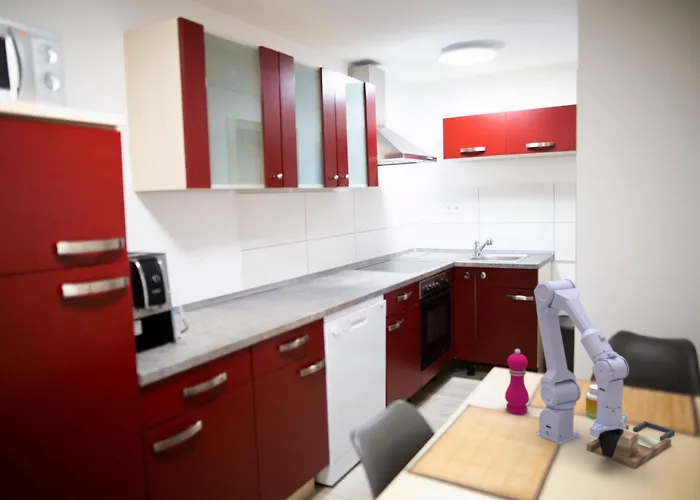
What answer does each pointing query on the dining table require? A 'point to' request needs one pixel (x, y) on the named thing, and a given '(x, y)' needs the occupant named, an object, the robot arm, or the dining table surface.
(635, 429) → the tray
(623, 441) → the maple block
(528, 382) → the dining table surface
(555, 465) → the dining table surface
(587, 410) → the supplement bottle
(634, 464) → the walled channel
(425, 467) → the dining table surface
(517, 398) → the pepper mill
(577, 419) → the dining table surface
